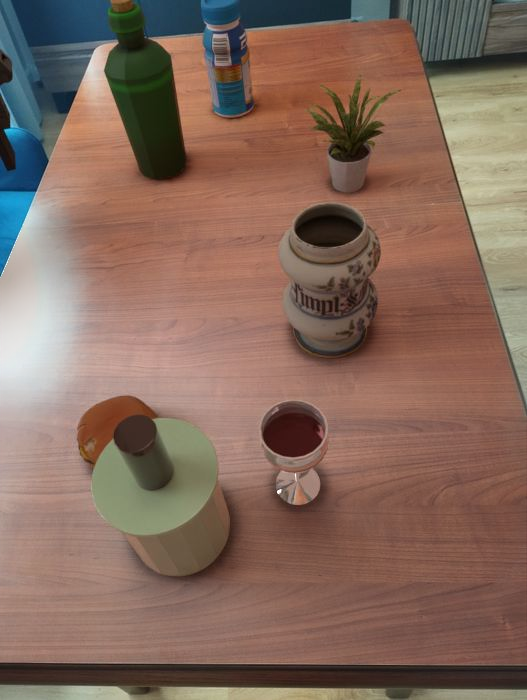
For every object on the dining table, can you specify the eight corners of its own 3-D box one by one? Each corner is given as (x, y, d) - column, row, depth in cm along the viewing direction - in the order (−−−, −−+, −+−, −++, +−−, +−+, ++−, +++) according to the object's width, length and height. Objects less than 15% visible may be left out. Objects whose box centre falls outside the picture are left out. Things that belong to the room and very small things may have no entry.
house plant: (375, 147, 104) (381, 54, 91) (410, 191, 95) (423, 95, 82) (299, 167, 102) (295, 75, 89) (329, 214, 93) (329, 119, 81)
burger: (178, 424, 71) (169, 403, 67) (138, 491, 66) (127, 472, 62) (111, 400, 74) (100, 379, 71) (68, 462, 69) (53, 442, 66)
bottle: (200, 151, 108) (168, -17, 86) (182, 187, 101) (142, 15, 79) (146, 148, 110) (101, -17, 88) (126, 183, 104) (72, 14, 82)
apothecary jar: (308, 287, 84) (304, 181, 70) (388, 311, 80) (401, 204, 66) (269, 347, 77) (256, 244, 63) (354, 377, 73) (360, 274, 59)
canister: (115, 548, 62) (76, 499, 52) (169, 468, 68) (142, 410, 58) (197, 594, 58) (171, 551, 49) (247, 506, 64) (233, 451, 54)
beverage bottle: (204, 109, 117) (185, 1, 101) (236, 92, 120) (222, -15, 104) (231, 124, 113) (216, 13, 97) (263, 106, 116) (253, -4, 100)
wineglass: (255, 478, 66) (244, 422, 56) (303, 446, 68) (299, 387, 59) (291, 525, 62) (285, 473, 53) (341, 489, 64) (343, 433, 55)
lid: (69, 505, 53) (33, 463, 46) (143, 407, 59) (120, 358, 52) (174, 563, 49) (151, 526, 42) (242, 451, 55) (231, 404, 48)
